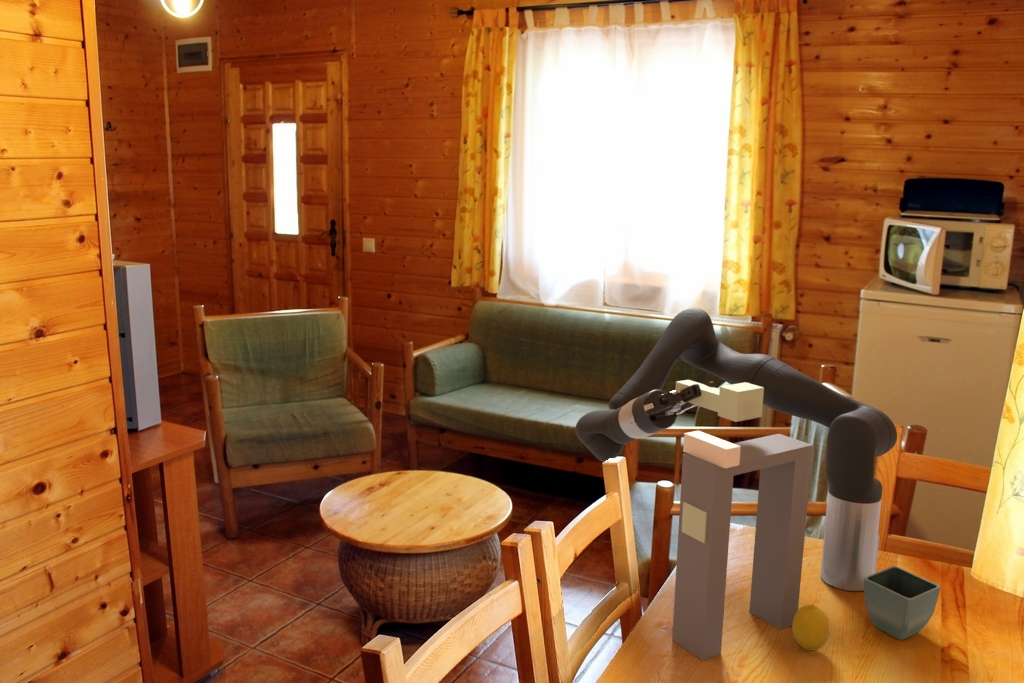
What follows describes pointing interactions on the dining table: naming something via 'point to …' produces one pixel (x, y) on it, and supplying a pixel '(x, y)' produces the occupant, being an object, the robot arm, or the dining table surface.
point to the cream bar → (712, 449)
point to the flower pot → (899, 601)
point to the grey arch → (709, 539)
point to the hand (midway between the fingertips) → (706, 388)
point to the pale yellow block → (729, 399)
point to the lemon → (810, 627)
